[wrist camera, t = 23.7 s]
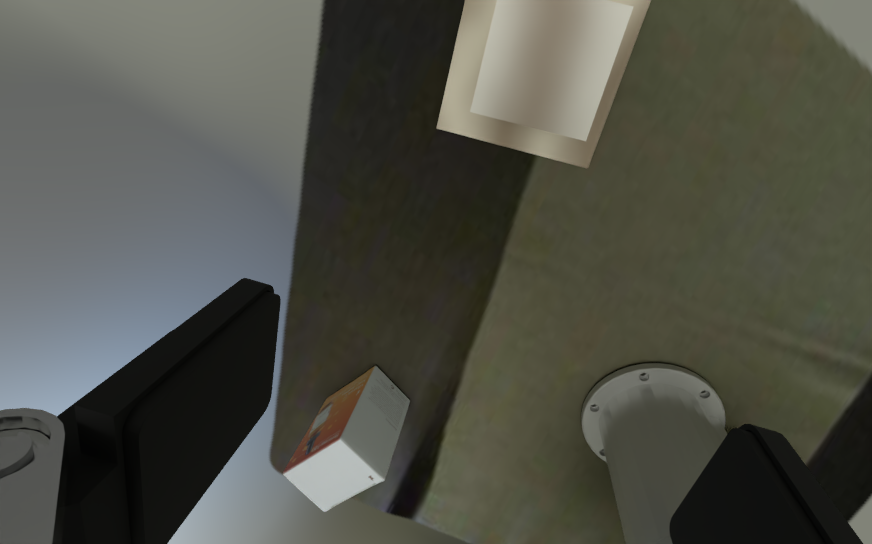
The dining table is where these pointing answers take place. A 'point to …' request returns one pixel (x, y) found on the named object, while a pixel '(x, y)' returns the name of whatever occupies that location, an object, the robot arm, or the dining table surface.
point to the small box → (349, 441)
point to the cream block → (549, 62)
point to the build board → (510, 134)
